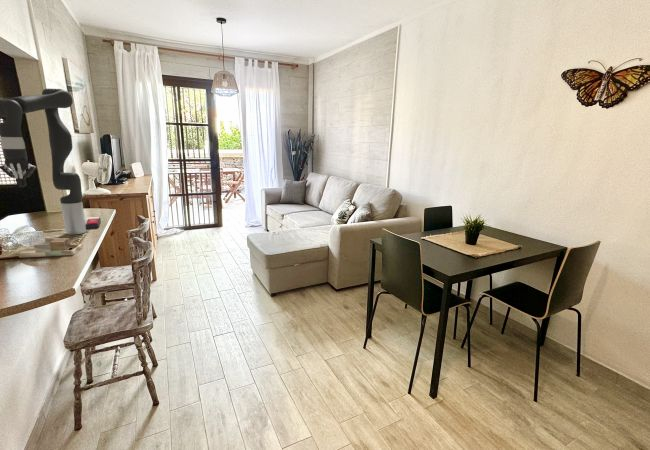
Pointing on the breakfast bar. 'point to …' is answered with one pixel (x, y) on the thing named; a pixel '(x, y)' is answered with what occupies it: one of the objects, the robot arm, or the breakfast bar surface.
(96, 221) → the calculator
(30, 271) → the breakfast bar surface
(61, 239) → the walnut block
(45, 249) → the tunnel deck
